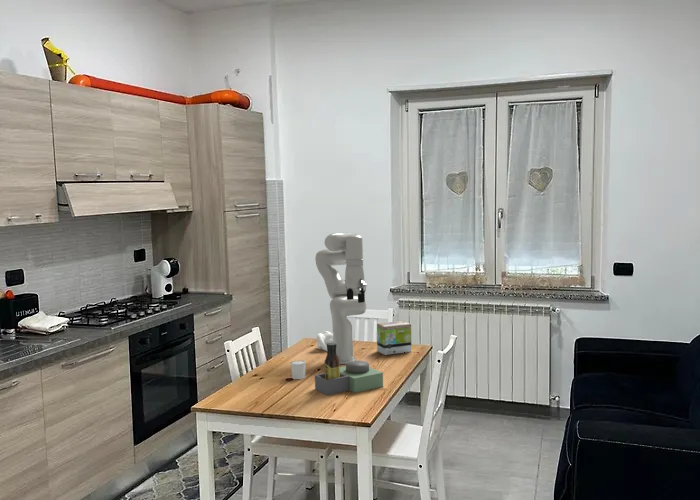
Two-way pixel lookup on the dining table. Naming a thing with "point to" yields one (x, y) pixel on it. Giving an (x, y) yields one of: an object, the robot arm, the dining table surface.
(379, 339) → the tea box
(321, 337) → the white knot sculpture
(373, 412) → the dining table surface
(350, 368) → the grey and green blocks
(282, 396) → the dining table surface
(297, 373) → the shot glass
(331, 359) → the sauce bottle
